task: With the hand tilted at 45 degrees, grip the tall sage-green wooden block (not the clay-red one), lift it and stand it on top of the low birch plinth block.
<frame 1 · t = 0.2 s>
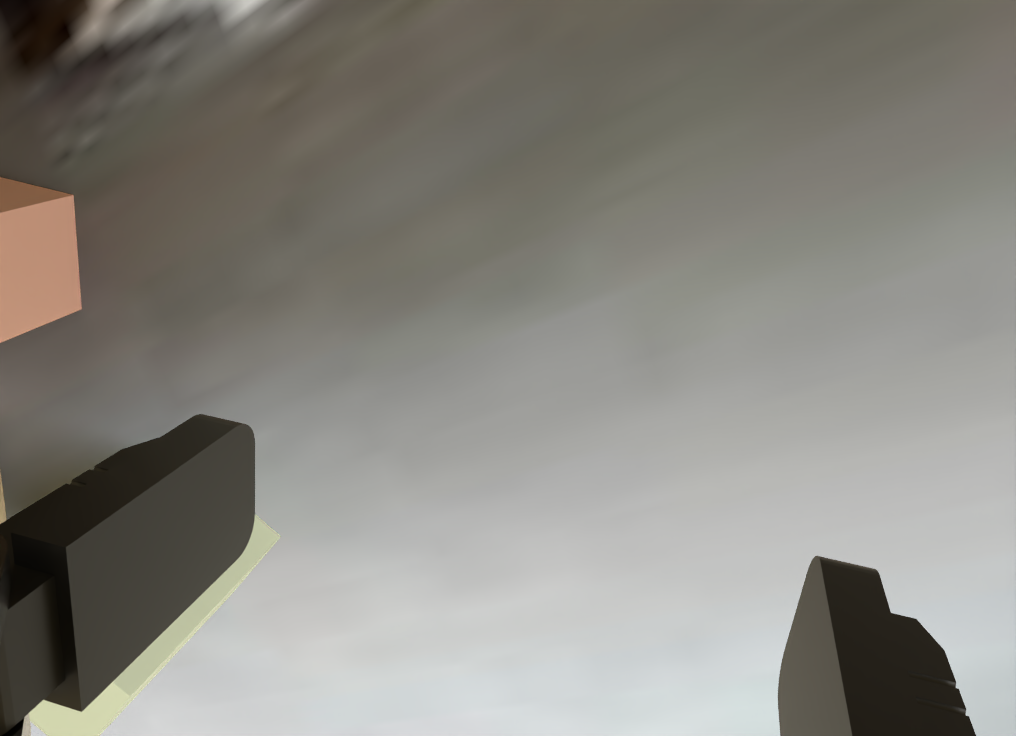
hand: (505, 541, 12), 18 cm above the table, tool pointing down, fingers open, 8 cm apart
sage-green block: (214, 531, 38), on the table
clay-red block: (27, 240, 35), on the table
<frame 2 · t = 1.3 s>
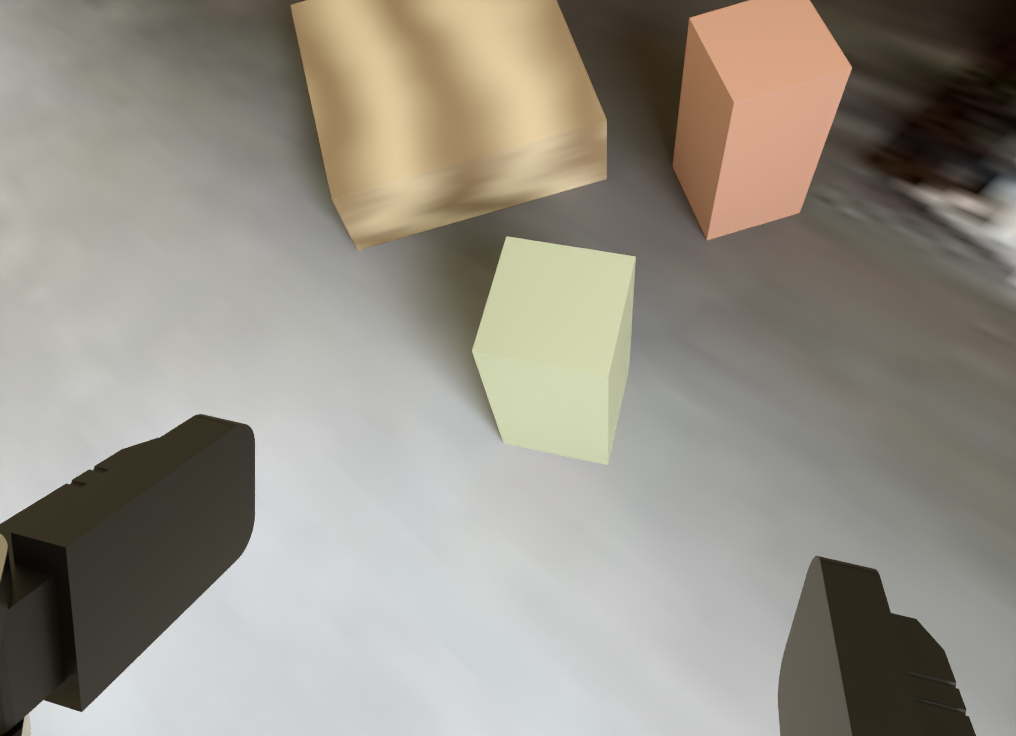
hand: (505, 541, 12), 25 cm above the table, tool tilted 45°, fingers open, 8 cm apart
sage-green block: (567, 405, 39), on the table
clay-red block: (734, 188, 43), on the table
birch plinth block: (453, 123, 48), on the table
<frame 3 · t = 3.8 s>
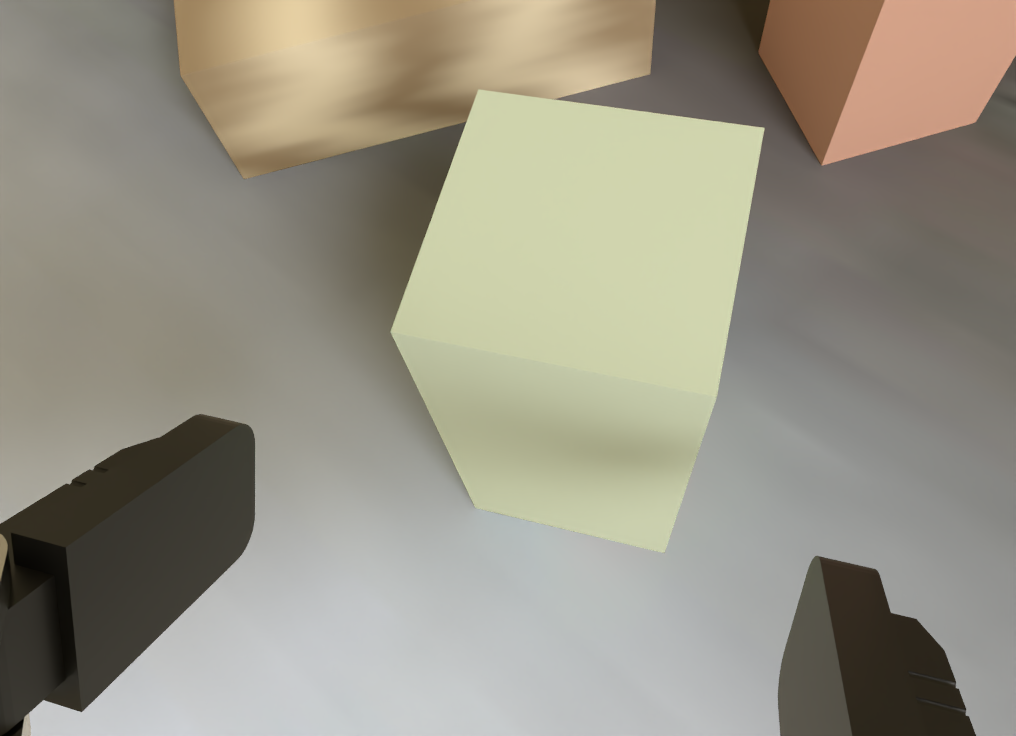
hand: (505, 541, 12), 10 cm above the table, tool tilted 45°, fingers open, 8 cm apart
sage-green block: (589, 441, 22), on the table
clay-red block: (862, 86, 26), on the table
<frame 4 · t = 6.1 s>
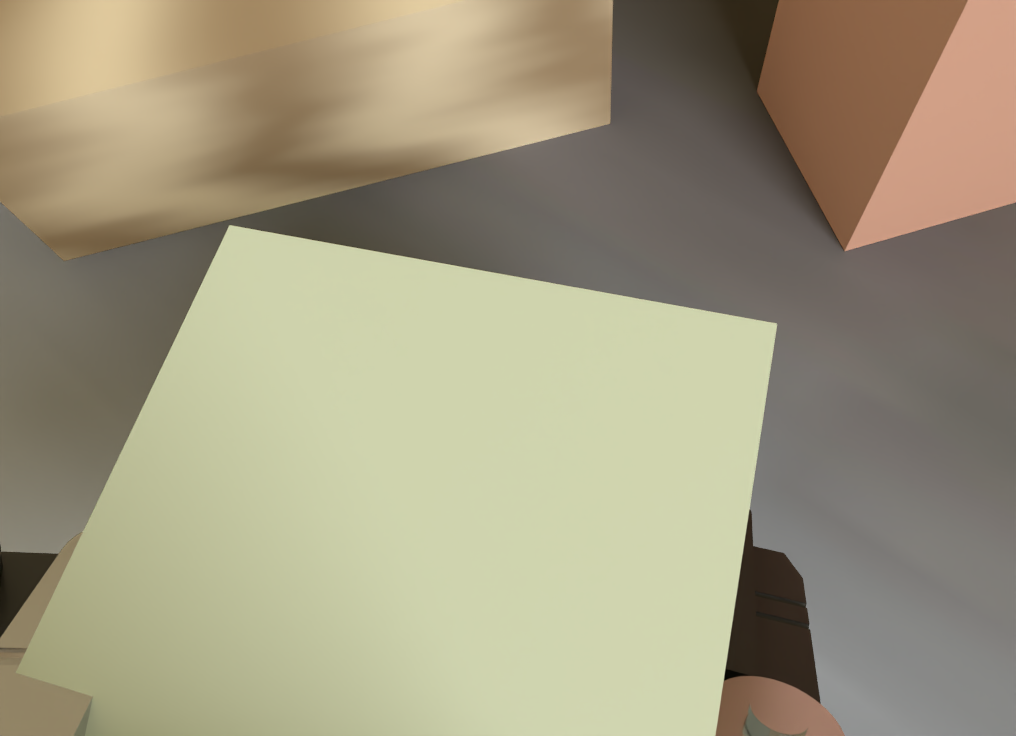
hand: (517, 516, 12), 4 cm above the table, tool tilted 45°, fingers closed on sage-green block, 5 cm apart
sage-green block: (513, 671, 15), on the table, touching gripper
clay-red block: (898, 138, 20), on the table
birch plinth block: (308, 12, 24), on the table
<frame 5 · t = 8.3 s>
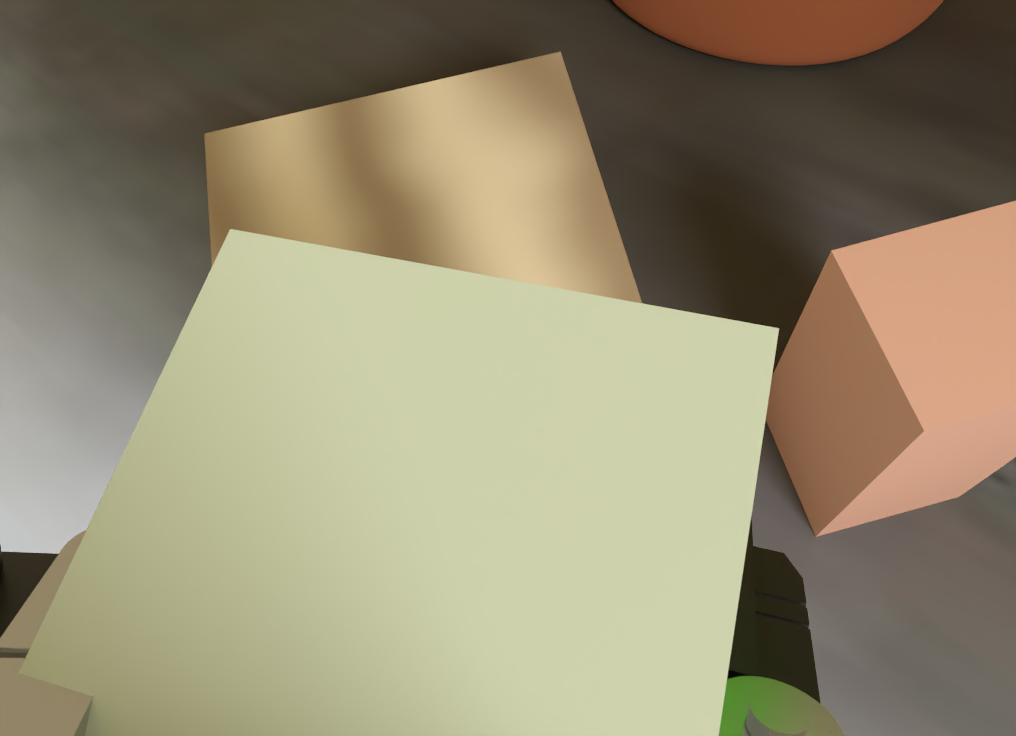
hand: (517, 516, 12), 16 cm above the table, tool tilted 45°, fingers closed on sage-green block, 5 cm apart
sage-green block: (513, 673, 15), point 12 cm above the table, touching gripper
clay-red block: (855, 448, 29), on the table
birch plinth block: (435, 310, 33), on the table
when the fingers open (11 cm above the table, at t = 10.9 s): sage-green block drops 2 cm, point 5 cm above the table.
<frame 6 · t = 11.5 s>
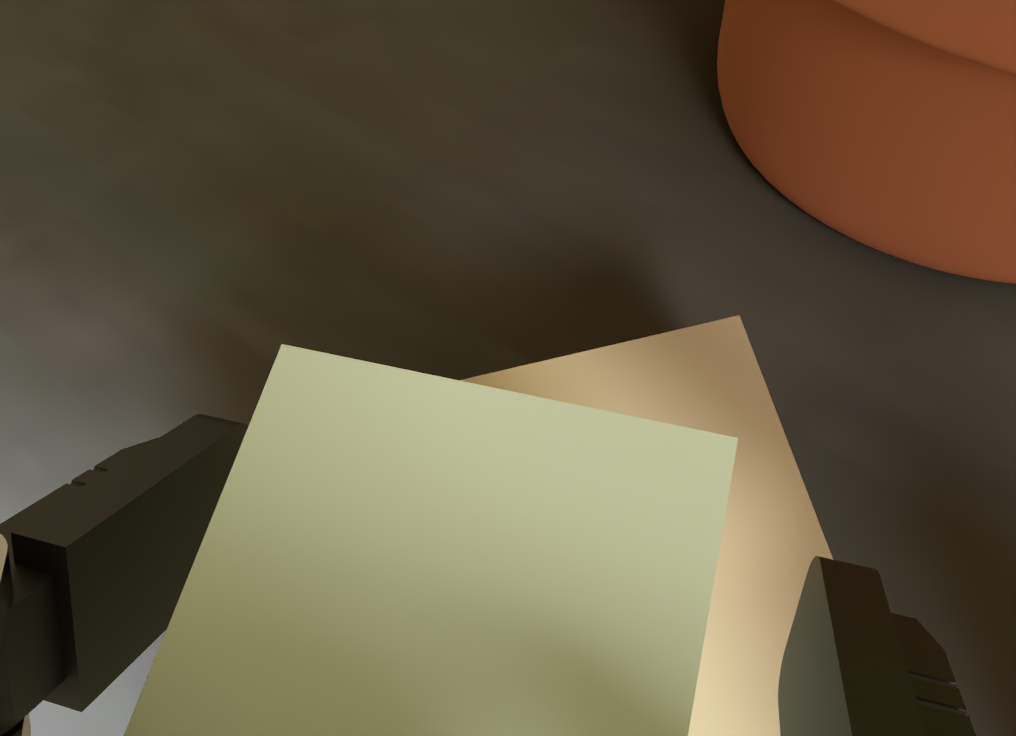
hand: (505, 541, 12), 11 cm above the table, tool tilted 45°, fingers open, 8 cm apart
potted cactus: (972, 78, 28), on the table
sage-green block: (528, 682, 17), point 5 cm above the table
birch plinth block: (536, 695, 21), on the table
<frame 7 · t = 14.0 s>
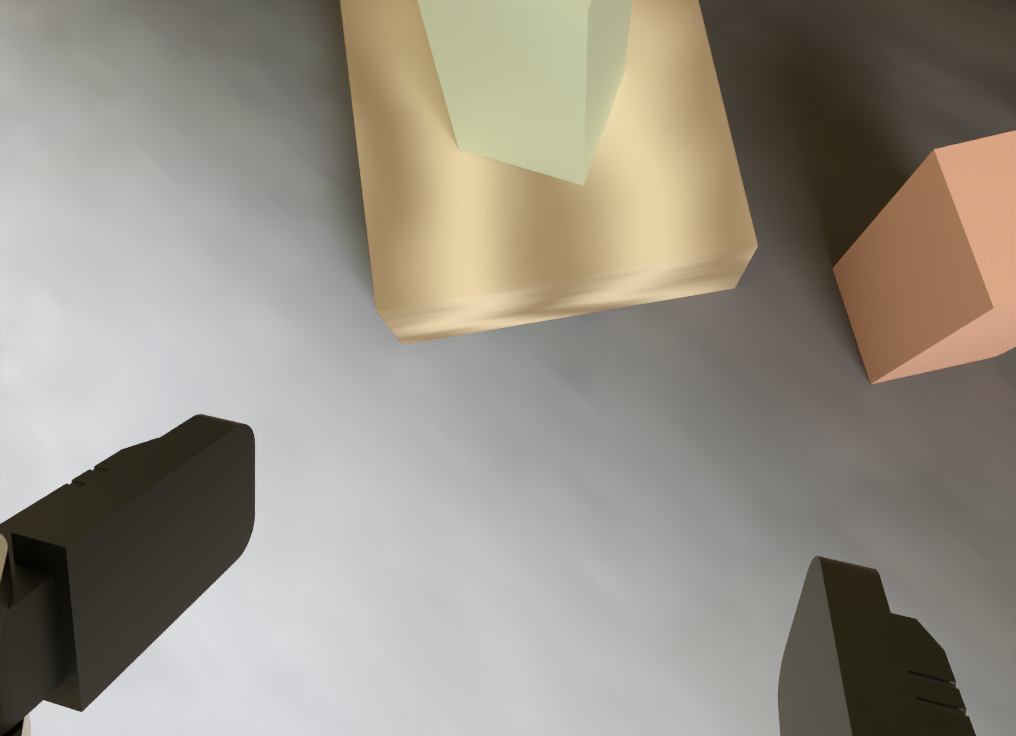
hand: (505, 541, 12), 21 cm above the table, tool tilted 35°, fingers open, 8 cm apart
sage-green block: (542, 110, 31), point 5 cm above the table, touching birch plinth block
clay-red block: (912, 311, 33), on the table
birch plinth block: (540, 170, 36), on the table, touching sage-green block
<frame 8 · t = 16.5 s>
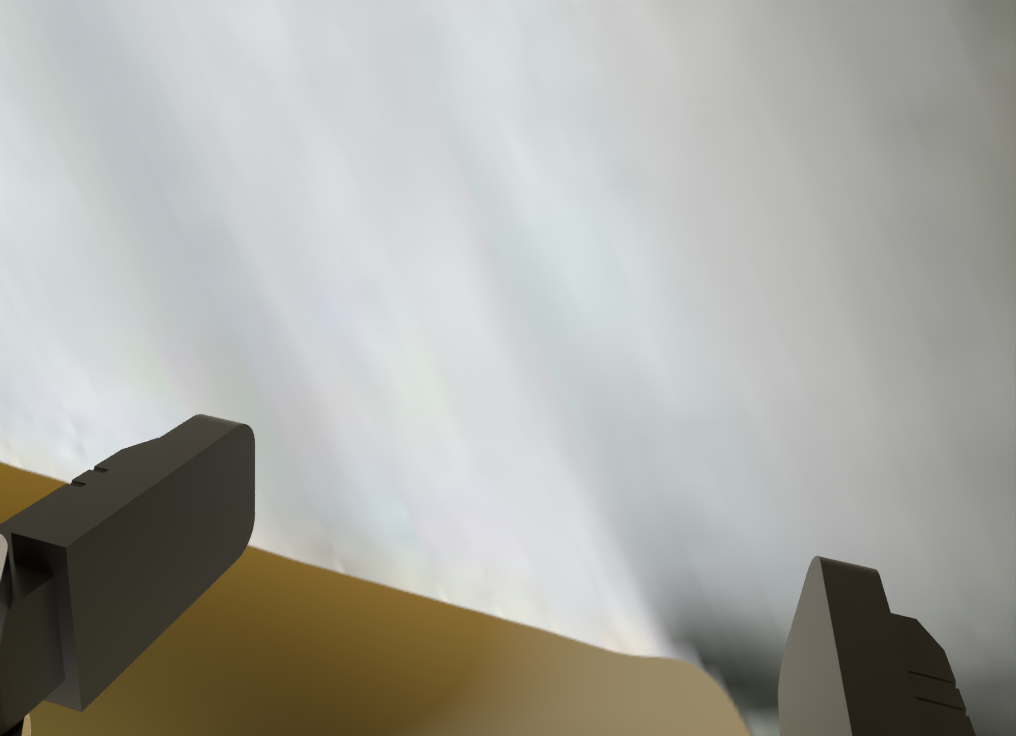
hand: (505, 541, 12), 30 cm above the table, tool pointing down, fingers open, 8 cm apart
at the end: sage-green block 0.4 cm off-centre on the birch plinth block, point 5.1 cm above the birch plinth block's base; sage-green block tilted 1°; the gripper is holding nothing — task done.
